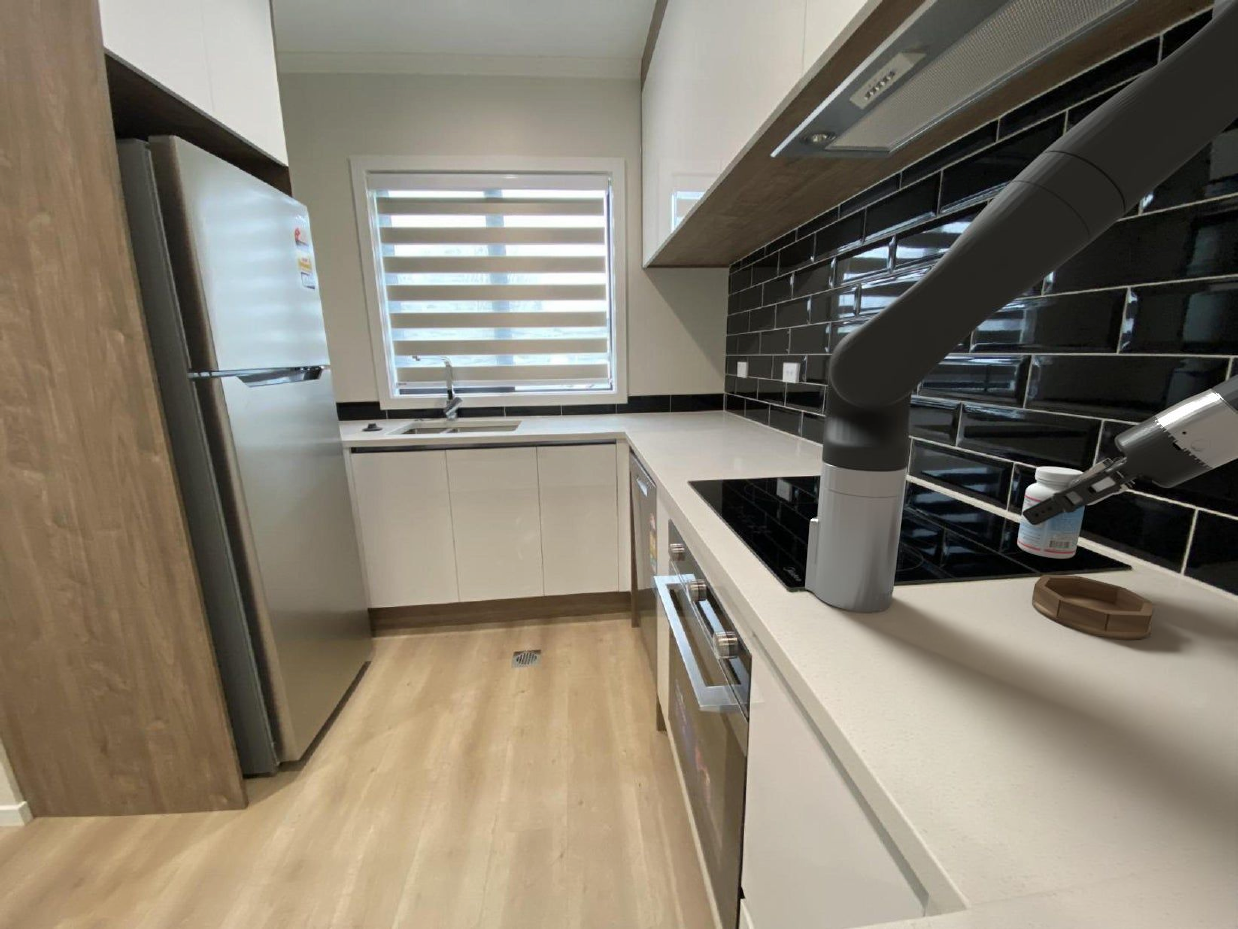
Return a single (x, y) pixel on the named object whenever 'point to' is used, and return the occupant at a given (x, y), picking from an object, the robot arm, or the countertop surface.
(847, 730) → the countertop surface
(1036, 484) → the pill bottle
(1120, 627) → the bowl
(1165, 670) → the countertop surface
